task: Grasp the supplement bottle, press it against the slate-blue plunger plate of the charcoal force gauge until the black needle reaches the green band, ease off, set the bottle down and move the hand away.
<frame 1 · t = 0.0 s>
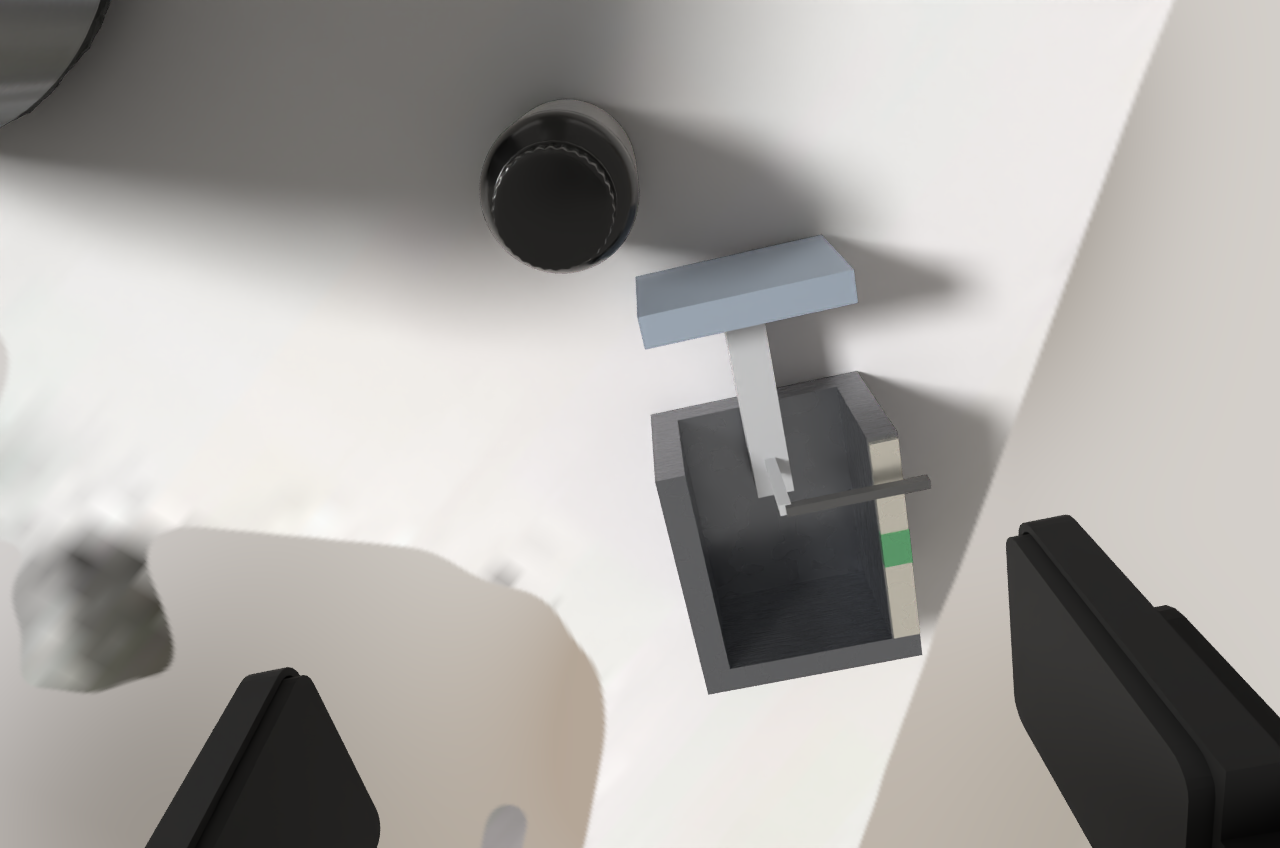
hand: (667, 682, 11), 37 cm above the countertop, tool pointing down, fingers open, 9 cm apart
supplement bottle: (570, 166, 44), on the countertop
gauge plunger: (778, 392, 44), point 5 cm above the countertop, slide at 0.0 cm
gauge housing: (754, 400, 50), on the countertop
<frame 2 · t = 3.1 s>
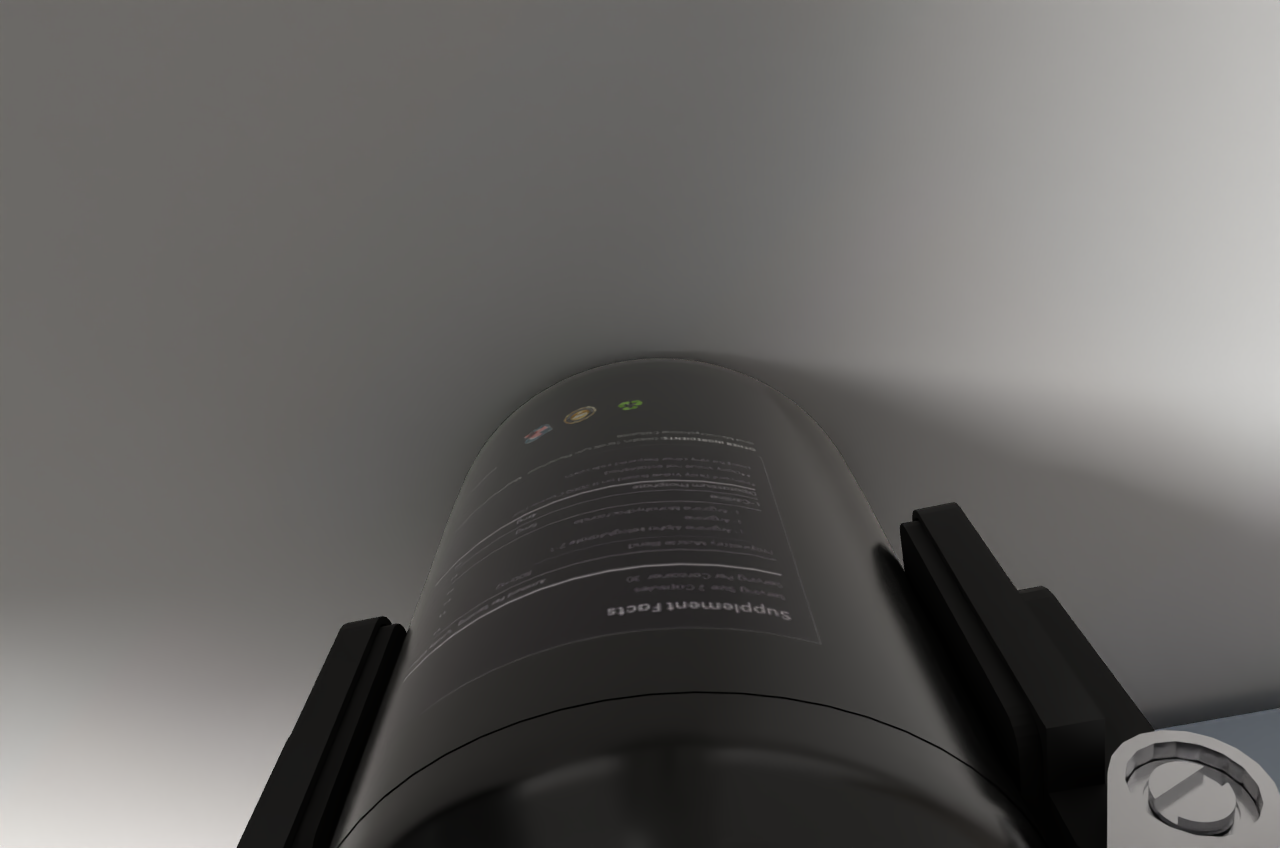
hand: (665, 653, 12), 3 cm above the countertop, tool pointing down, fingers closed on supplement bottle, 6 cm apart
supplement bottle: (657, 522, 15), on the countertop, touching gripper
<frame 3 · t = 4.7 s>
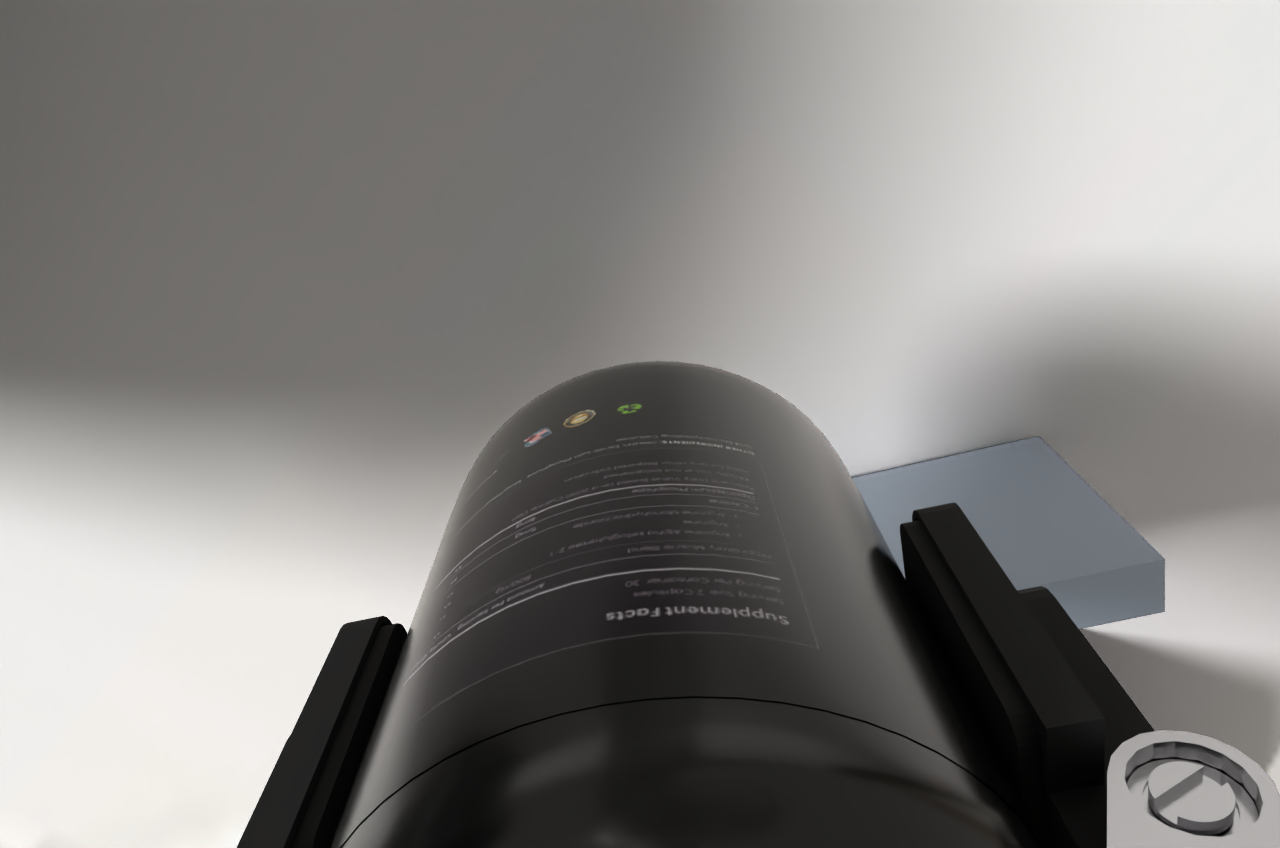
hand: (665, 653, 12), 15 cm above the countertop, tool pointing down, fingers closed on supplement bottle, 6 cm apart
supplement bottle: (656, 524, 15), point 12 cm above the countertop, touching gripper
gauge plunger: (980, 712, 26), point 5 cm above the countertop, slide at 0.0 cm
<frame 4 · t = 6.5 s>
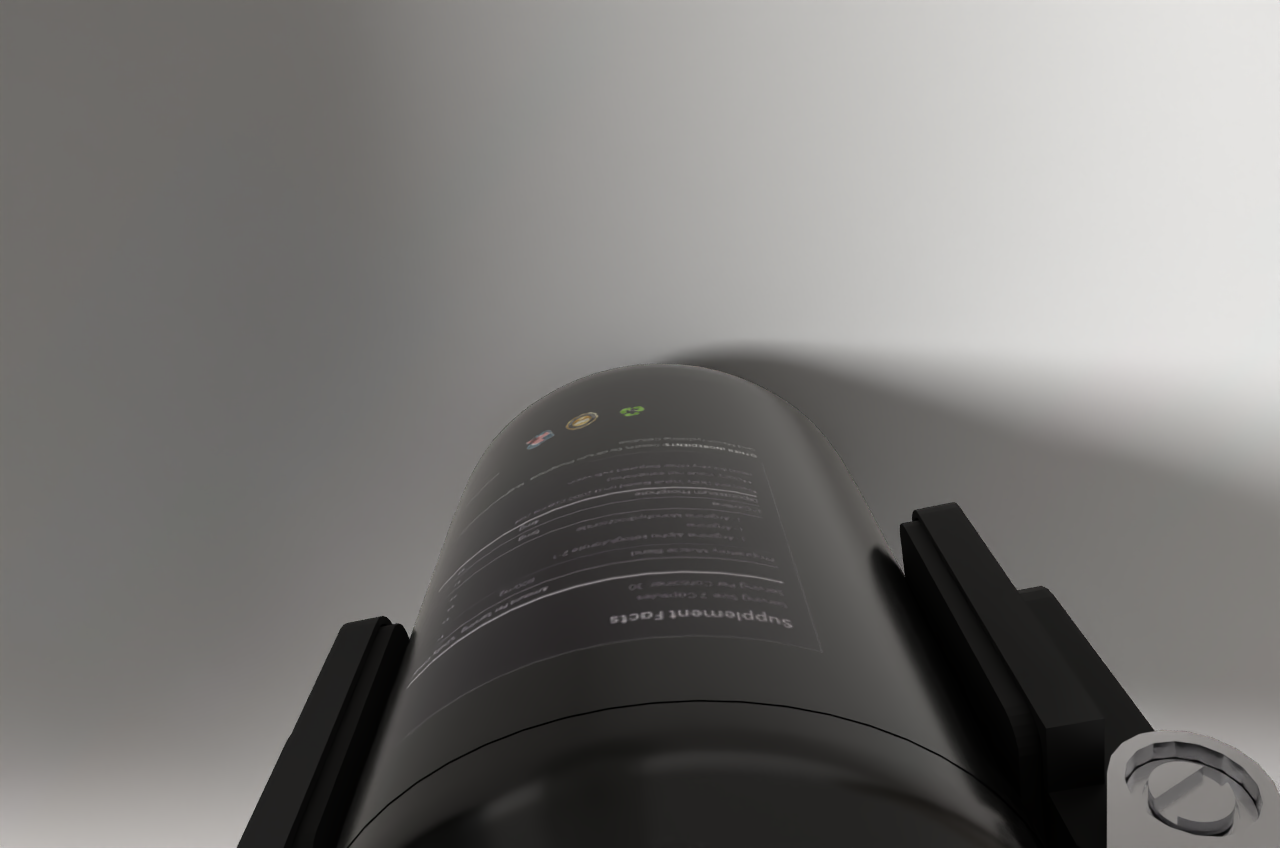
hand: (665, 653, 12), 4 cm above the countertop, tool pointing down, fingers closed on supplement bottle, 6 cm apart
supplement bottle: (658, 526, 15), point 1 cm above the countertop, touching gripper
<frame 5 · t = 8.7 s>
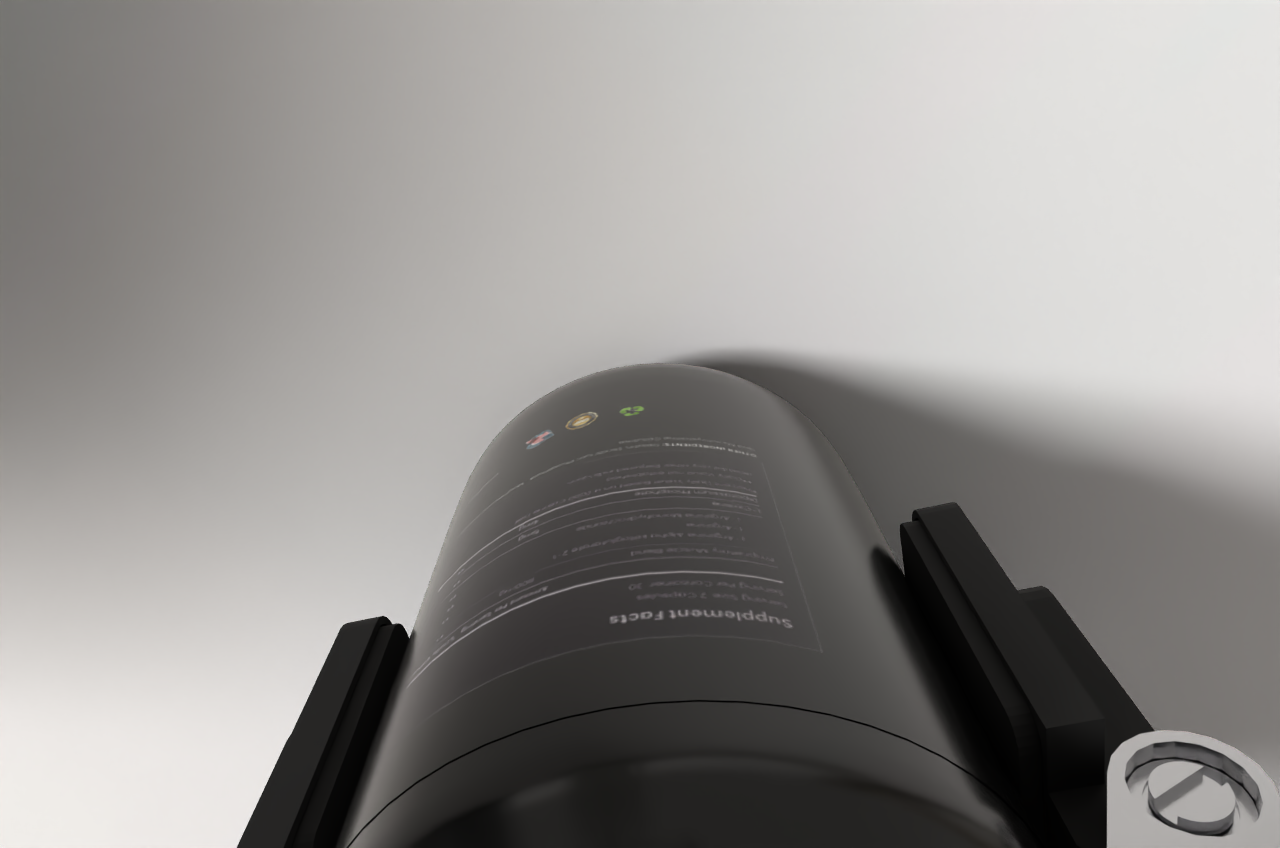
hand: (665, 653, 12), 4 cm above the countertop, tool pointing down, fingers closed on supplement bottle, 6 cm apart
supplement bottle: (658, 526, 15), point 1 cm above the countertop, touching gripper
when the fingers open (4 cm above the countertop, at t = 10.3 s): supplement bottle stays where it is, on the countertop.
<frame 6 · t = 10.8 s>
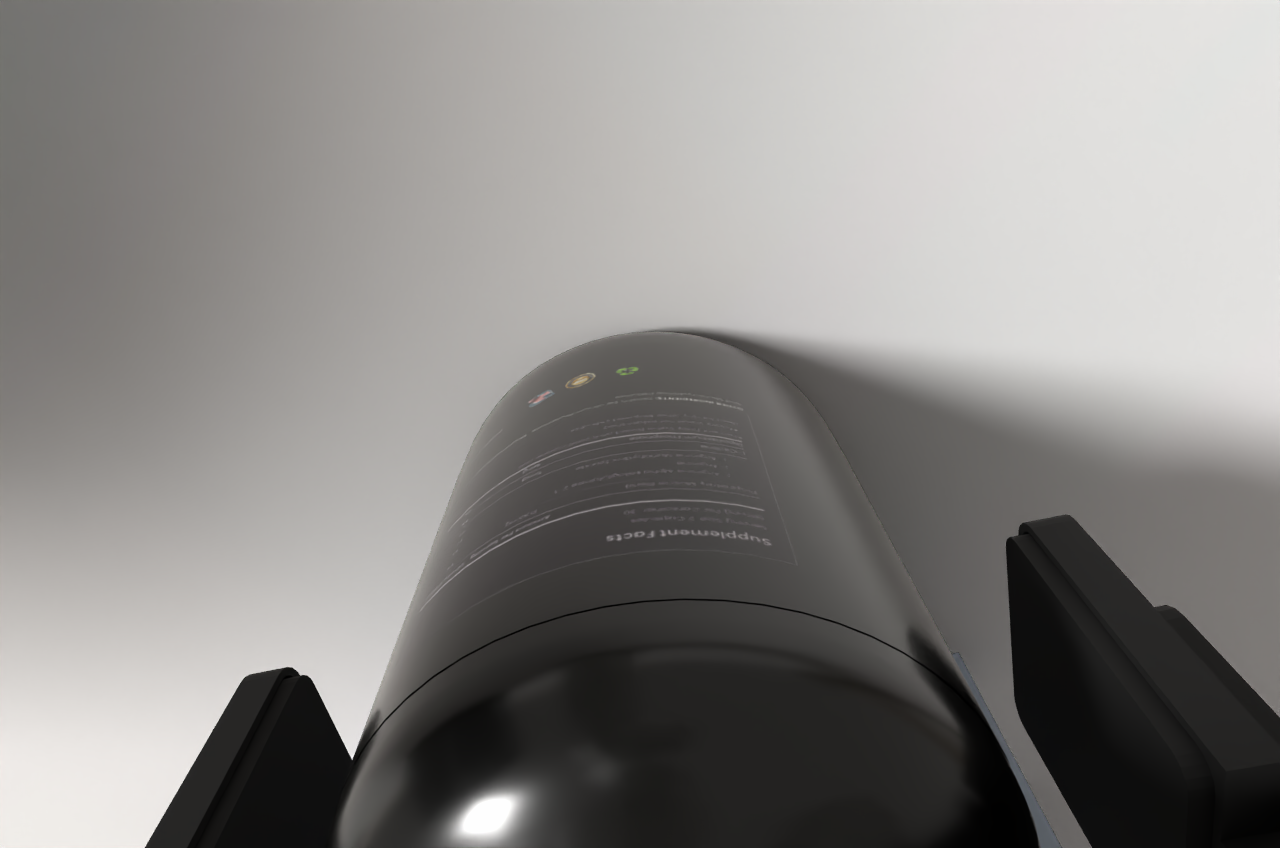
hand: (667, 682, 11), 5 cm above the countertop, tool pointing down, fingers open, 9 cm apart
supplement bottle: (652, 490, 16), on the countertop
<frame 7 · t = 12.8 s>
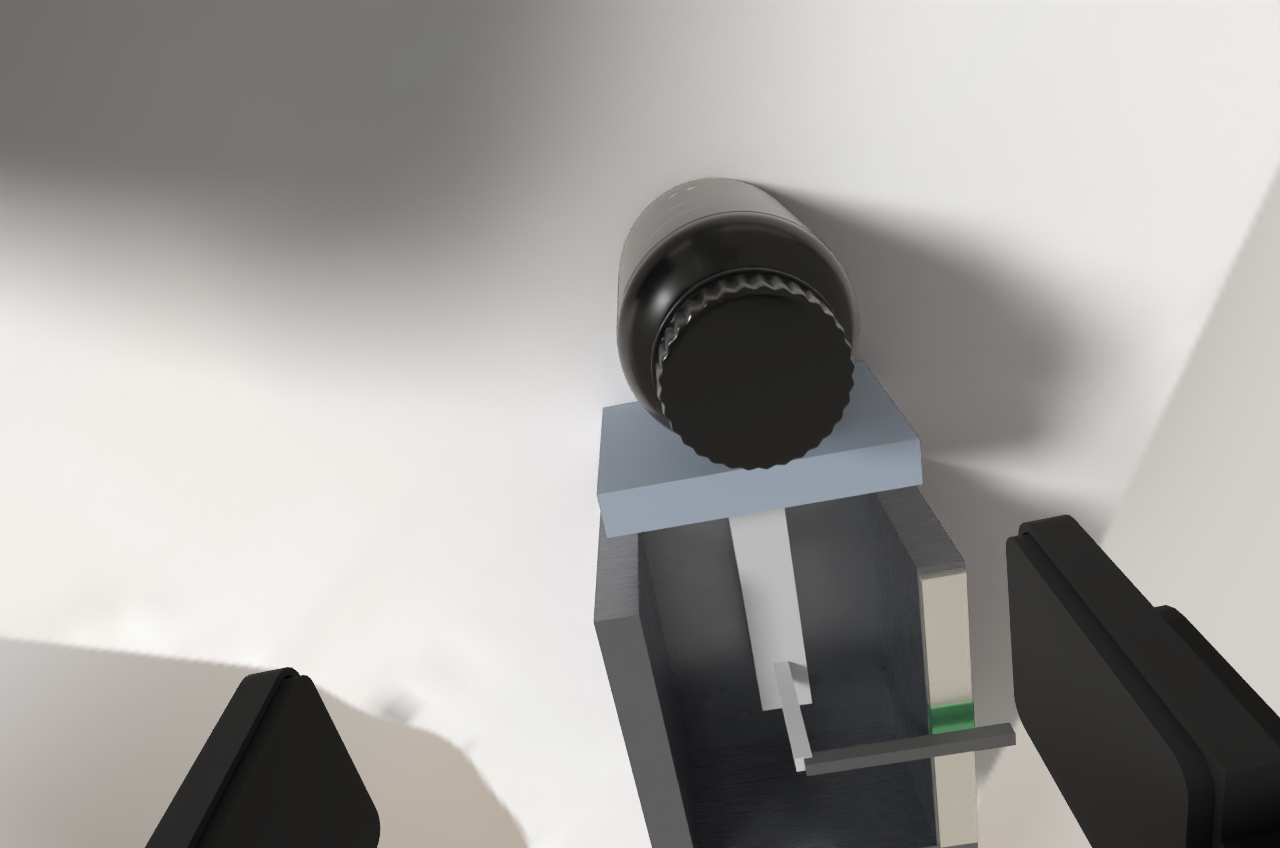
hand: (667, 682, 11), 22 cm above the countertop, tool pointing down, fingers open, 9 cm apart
supplement bottle: (711, 267, 32), on the countertop
gauge plunger: (797, 584, 31), point 5 cm above the countertop, slide at 4.0 cm
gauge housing: (747, 488, 35), on the countertop
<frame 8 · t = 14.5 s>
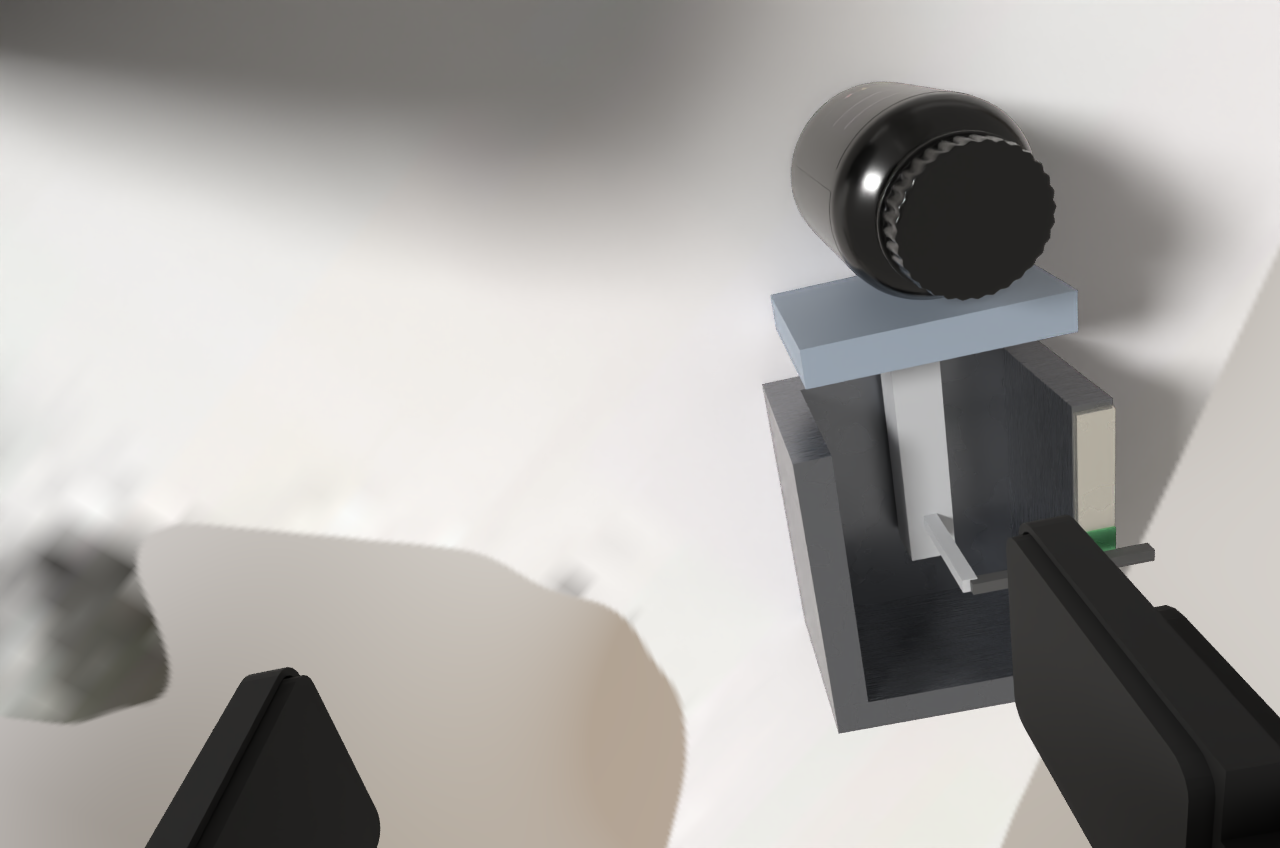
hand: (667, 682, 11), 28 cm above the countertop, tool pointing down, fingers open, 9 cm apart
supplement bottle: (868, 164, 36), on the countertop
gauge plunger: (952, 438, 36), point 5 cm above the countertop, slide at 4.0 cm
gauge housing: (892, 366, 40), on the countertop
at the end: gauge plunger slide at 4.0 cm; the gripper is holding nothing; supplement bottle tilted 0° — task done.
